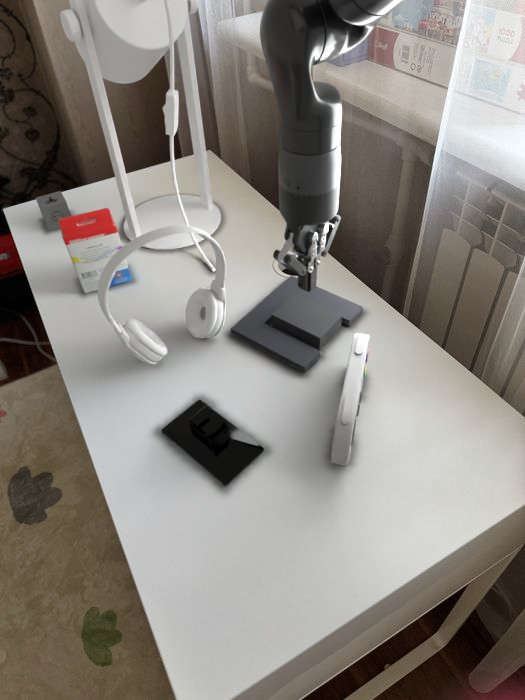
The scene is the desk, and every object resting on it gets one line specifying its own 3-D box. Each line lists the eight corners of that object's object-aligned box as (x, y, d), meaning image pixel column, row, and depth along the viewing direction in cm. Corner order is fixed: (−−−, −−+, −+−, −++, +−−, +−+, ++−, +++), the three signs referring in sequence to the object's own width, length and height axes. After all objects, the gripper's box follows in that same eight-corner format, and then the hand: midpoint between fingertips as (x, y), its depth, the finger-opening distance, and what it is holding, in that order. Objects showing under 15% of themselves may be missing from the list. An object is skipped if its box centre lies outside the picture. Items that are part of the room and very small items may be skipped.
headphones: (114, 356, 81) (75, 246, 67) (219, 308, 88) (203, 199, 73) (133, 385, 77) (95, 275, 62) (242, 333, 83) (230, 222, 69)
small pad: (294, 306, 87) (294, 293, 85) (341, 328, 83) (342, 315, 81) (271, 326, 84) (271, 314, 82) (319, 350, 80) (320, 338, 78)
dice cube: (49, 231, 106) (40, 209, 103) (44, 219, 109) (35, 197, 106) (74, 224, 108) (66, 201, 104) (68, 212, 111) (60, 190, 107)
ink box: (127, 266, 97) (106, 193, 86) (132, 281, 94) (111, 207, 83) (79, 278, 95) (52, 205, 85) (83, 294, 92) (55, 220, 81)
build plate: (160, 432, 71) (153, 410, 68) (201, 399, 75) (196, 377, 71) (225, 487, 65) (221, 466, 61) (266, 448, 68) (264, 427, 65)
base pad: (362, 312, 85) (363, 306, 84) (304, 373, 77) (304, 367, 76) (291, 280, 92) (291, 275, 91) (231, 334, 83) (230, 328, 82)
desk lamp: (187, 180, 118) (146, -79, 86) (271, 246, 99) (258, -54, 67) (98, 212, 110) (16, -59, 78) (171, 291, 91) (102, -25, 59)
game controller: (347, 478, 65) (352, 439, 59) (329, 475, 65) (332, 435, 59) (367, 363, 78) (373, 321, 72) (352, 360, 78) (356, 319, 72)
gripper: (303, 210, 60) (302, 323, 73) (363, 163, 67) (353, 273, 80) (251, 191, 64) (258, 302, 76) (314, 148, 71) (311, 256, 83)
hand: (307, 287), depth 78 cm, fingers closed
